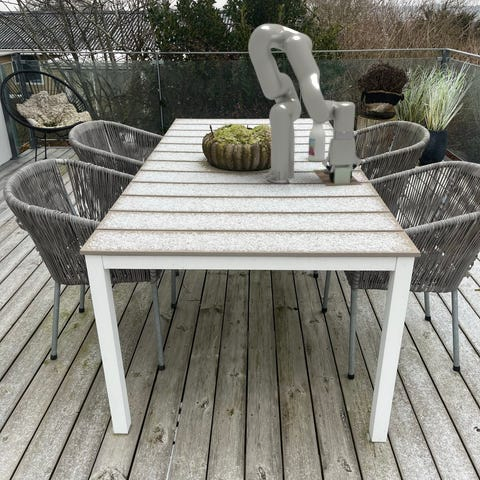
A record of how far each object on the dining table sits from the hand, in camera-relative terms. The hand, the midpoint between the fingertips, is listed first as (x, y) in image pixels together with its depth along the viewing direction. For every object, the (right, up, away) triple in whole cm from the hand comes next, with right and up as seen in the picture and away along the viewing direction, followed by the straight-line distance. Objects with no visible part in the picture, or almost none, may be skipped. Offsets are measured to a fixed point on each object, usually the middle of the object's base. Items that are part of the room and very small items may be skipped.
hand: (340, 180), depth 186 cm
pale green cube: (0, 0, 0) cm, 0 cm away
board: (0, +1, +7) cm, 7 cm away
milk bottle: (-3, +15, +39) cm, 41 cm away
